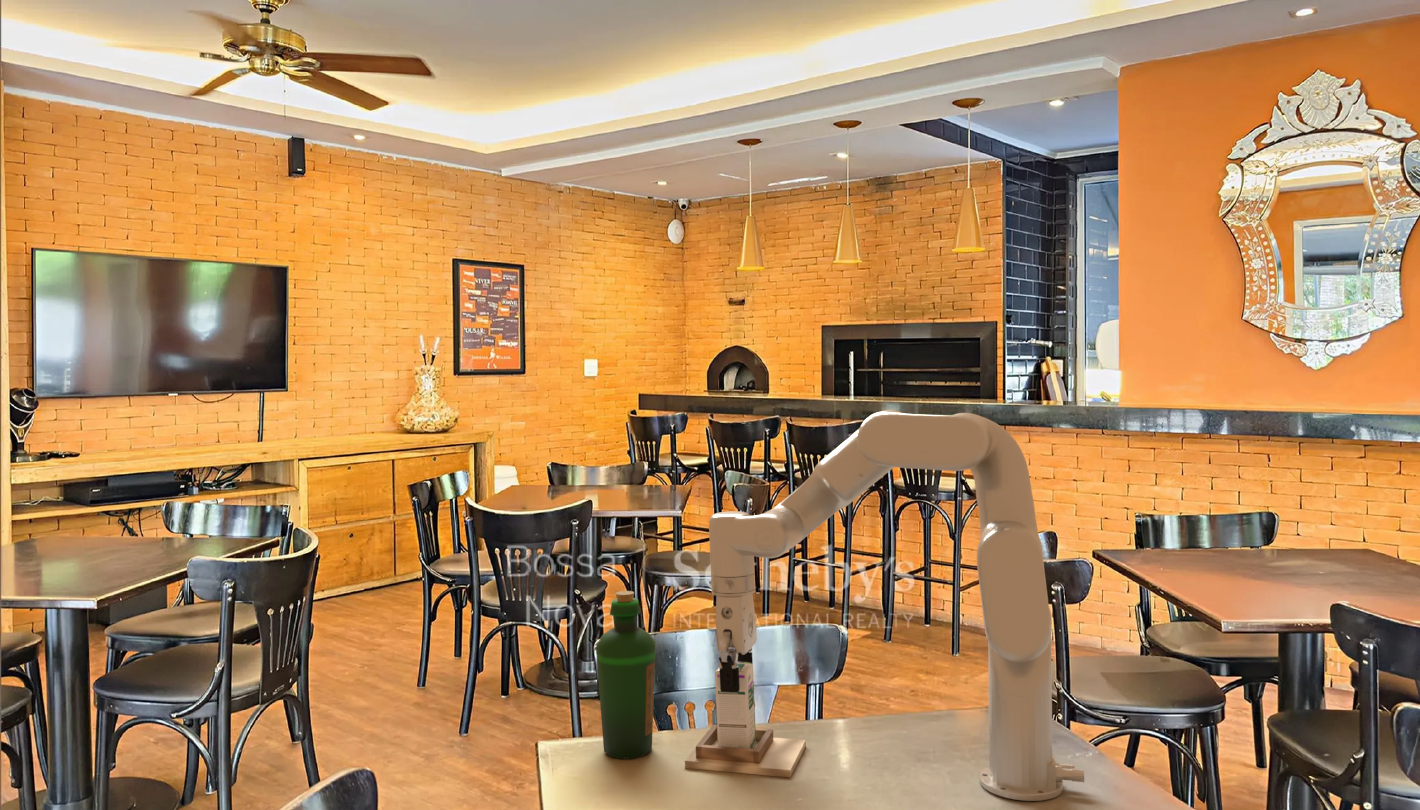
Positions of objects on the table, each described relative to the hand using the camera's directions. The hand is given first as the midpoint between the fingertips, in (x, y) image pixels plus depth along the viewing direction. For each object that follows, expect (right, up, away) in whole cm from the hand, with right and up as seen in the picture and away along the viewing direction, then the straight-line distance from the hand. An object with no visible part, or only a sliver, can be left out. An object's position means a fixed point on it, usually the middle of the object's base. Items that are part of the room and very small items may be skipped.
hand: (737, 683), depth 171 cm
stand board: (+2, -13, 0) cm, 13 cm away
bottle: (-19, -13, +4) cm, 24 cm away
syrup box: (0, -12, 0) cm, 12 cm away
